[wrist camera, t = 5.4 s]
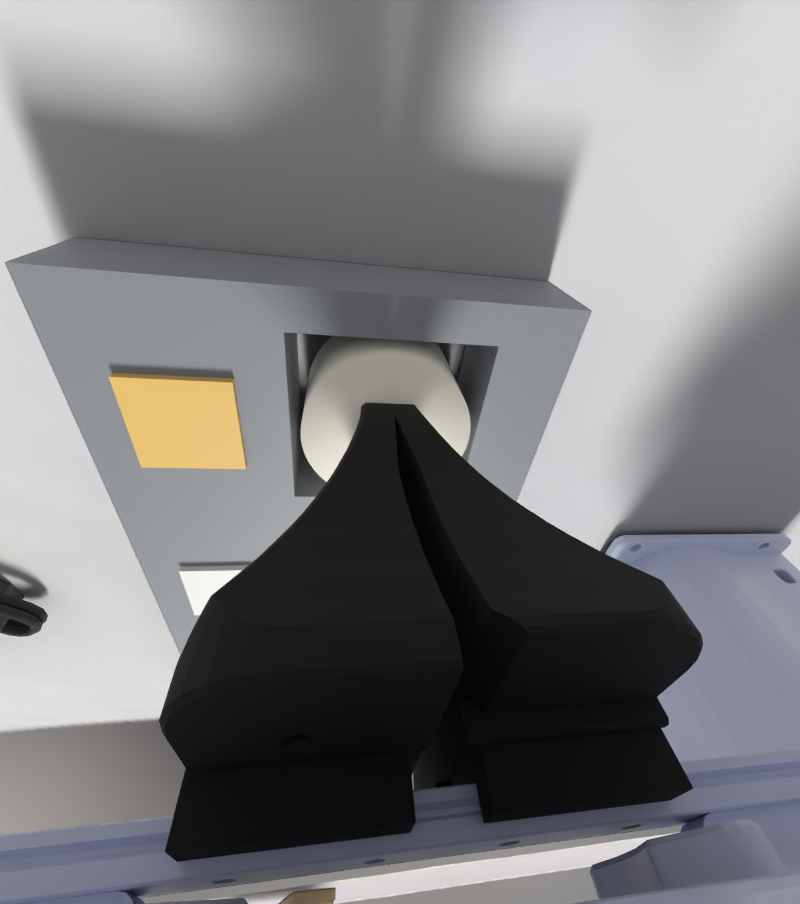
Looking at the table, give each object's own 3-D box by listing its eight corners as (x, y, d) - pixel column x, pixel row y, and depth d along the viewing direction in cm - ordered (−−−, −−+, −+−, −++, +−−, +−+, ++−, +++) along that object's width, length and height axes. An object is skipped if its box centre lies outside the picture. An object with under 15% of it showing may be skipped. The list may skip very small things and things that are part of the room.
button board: (548, 281, 11) (596, 313, 9) (431, 650, 24) (440, 700, 22) (75, 237, 9) (-3, 264, 7) (219, 662, 22) (205, 717, 20)
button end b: (463, 324, 11) (488, 364, 9) (437, 447, 14) (453, 499, 12) (305, 313, 11) (296, 353, 9) (310, 444, 13) (303, 498, 11)
